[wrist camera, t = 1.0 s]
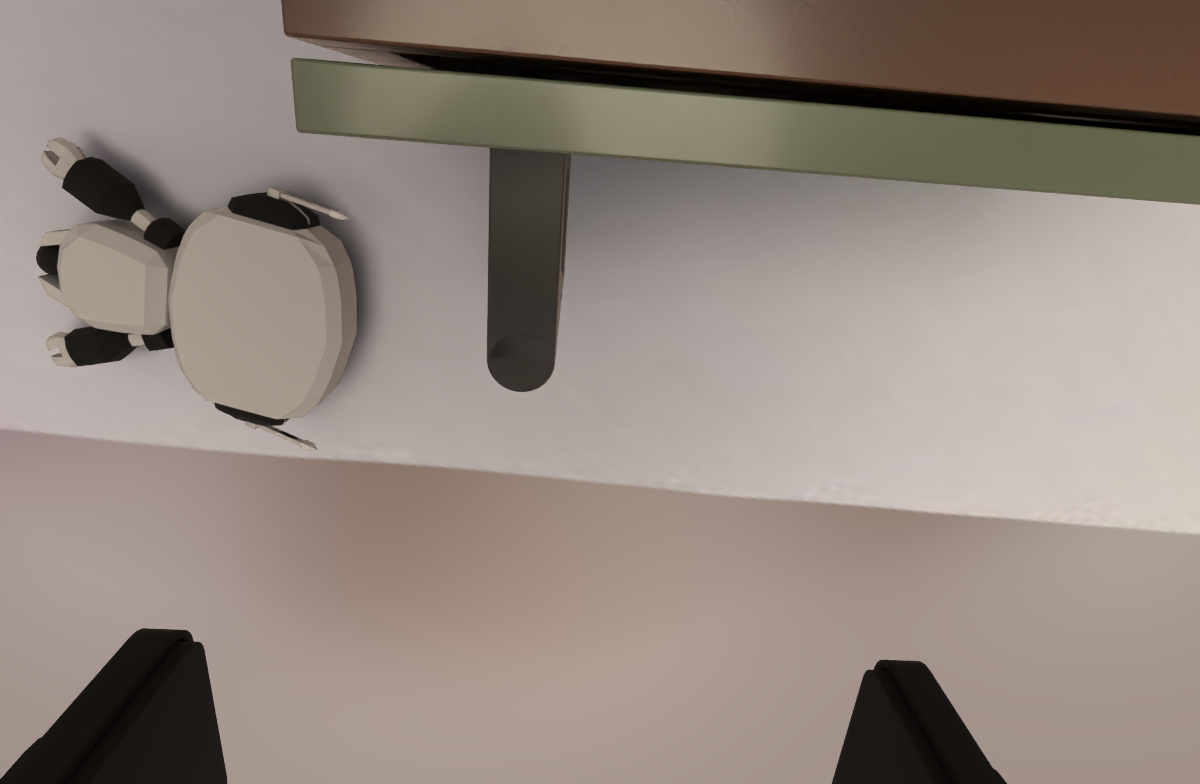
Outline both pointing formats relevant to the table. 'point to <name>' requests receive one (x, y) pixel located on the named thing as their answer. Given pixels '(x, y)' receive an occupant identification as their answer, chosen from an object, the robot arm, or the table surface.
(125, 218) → the robot toy
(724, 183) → the table surface
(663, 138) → the cupboard door
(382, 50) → the cupboard
